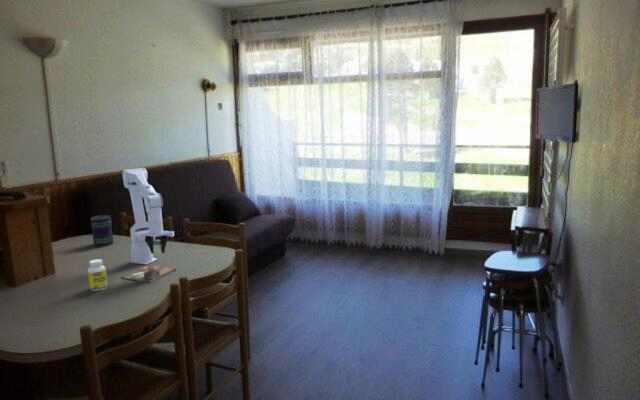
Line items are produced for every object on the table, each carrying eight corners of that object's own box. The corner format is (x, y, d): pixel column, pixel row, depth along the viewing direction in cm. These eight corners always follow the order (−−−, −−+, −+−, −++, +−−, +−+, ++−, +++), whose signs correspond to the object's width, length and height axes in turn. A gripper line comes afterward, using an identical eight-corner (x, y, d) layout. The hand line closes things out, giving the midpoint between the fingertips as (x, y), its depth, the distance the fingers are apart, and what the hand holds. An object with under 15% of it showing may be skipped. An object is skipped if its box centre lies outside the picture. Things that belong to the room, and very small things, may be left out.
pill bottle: (90, 292, 185) (86, 264, 183) (89, 287, 191) (86, 260, 189) (108, 289, 188) (105, 262, 186) (107, 284, 194) (104, 257, 192)
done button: (145, 270, 198) (145, 267, 197) (150, 268, 200) (150, 264, 200) (151, 271, 196) (151, 268, 196) (156, 269, 199) (156, 265, 199)
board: (121, 278, 200) (120, 271, 200) (148, 266, 215) (147, 259, 214) (151, 282, 194) (150, 275, 194) (176, 270, 209) (175, 263, 208)
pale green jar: (152, 258, 202) (151, 242, 201) (155, 255, 206) (154, 239, 205) (161, 257, 202) (160, 242, 201) (164, 254, 206) (163, 239, 205)
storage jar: (108, 246, 246) (105, 219, 243) (90, 247, 246) (86, 219, 243) (116, 241, 256) (113, 214, 253) (99, 241, 256) (95, 215, 253)
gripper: (135, 225, 197) (138, 256, 200) (169, 224, 197) (172, 255, 200) (140, 221, 204) (143, 251, 206) (174, 220, 204) (176, 250, 207)
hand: (158, 252), depth 204 cm, fingers closed on pale green jar, 4 cm apart
